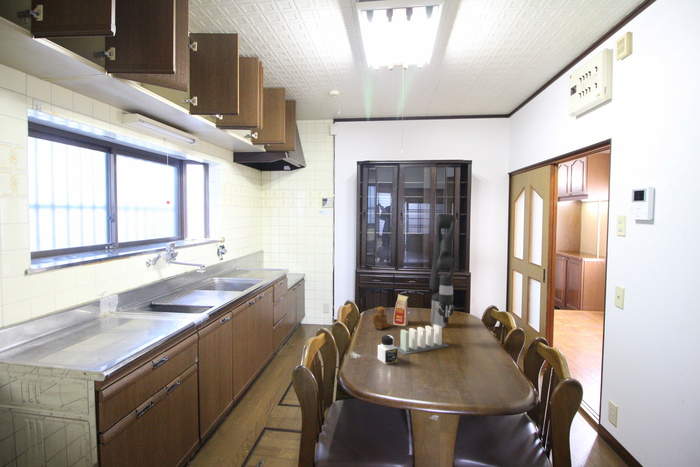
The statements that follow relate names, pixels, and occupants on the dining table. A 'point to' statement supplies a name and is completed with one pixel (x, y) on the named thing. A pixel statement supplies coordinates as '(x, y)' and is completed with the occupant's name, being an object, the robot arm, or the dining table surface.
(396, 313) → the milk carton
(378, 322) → the stuffed squirrel
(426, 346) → the runner mat
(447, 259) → the robot arm
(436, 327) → the domino
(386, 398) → the dining table surface
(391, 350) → the medicine bottle
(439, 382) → the dining table surface
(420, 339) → the domino
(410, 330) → the domino
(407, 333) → the domino
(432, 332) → the domino
